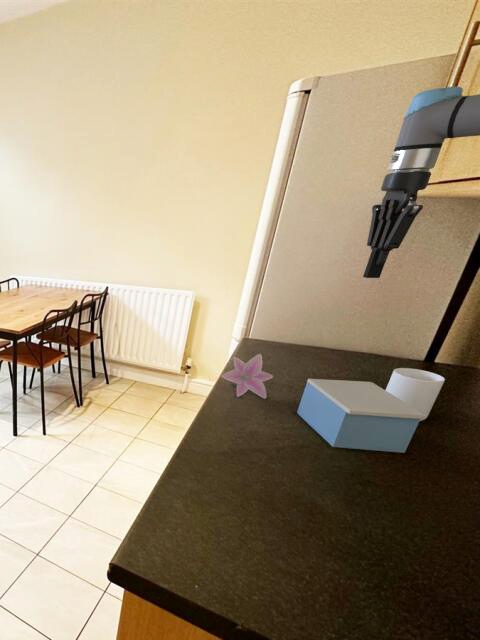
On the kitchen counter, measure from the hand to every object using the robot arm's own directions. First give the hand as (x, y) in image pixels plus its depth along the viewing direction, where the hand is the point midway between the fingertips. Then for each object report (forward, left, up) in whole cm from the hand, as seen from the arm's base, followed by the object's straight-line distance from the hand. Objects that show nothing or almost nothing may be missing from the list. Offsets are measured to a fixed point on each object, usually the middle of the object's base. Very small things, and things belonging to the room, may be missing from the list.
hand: (371, 277), depth 103 cm
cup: (-14, +8, -30) cm, 34 cm away
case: (-7, +29, -29) cm, 42 cm away
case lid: (-7, +29, -21) cm, 37 cm away
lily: (+16, +22, -30) cm, 40 cm away
